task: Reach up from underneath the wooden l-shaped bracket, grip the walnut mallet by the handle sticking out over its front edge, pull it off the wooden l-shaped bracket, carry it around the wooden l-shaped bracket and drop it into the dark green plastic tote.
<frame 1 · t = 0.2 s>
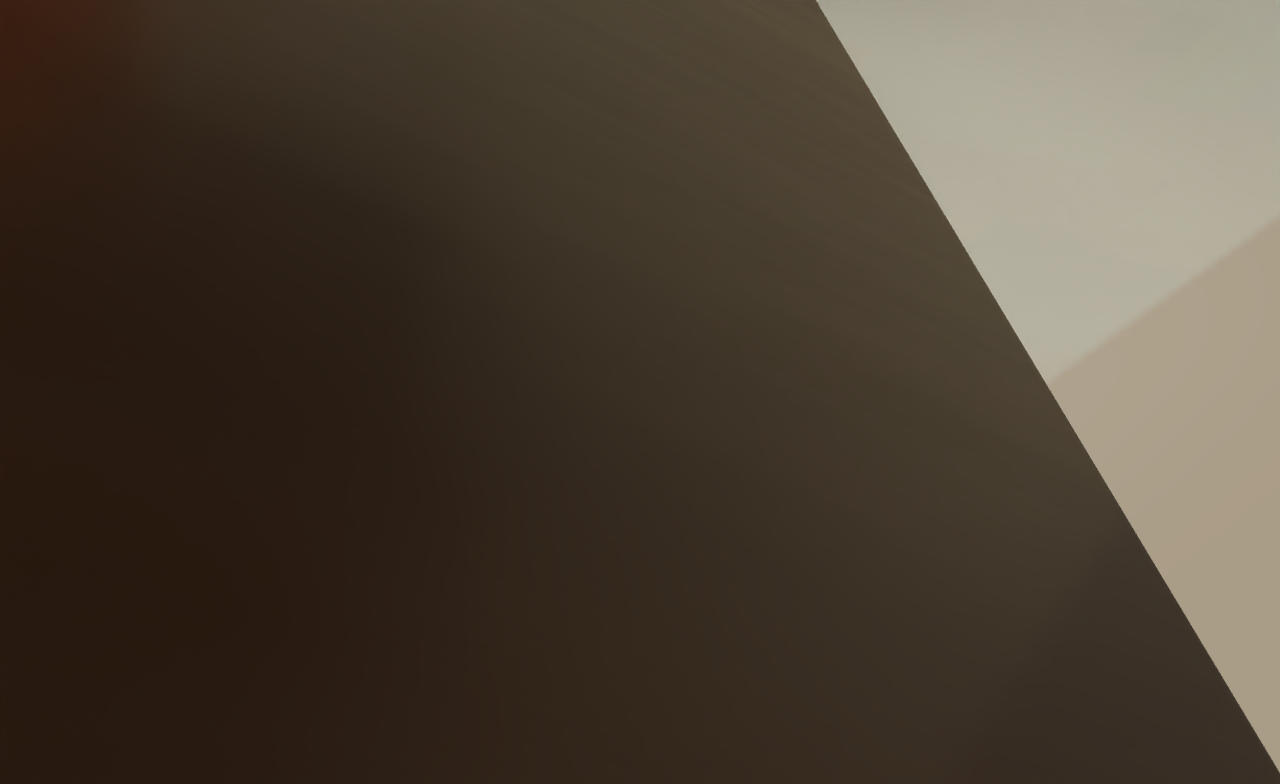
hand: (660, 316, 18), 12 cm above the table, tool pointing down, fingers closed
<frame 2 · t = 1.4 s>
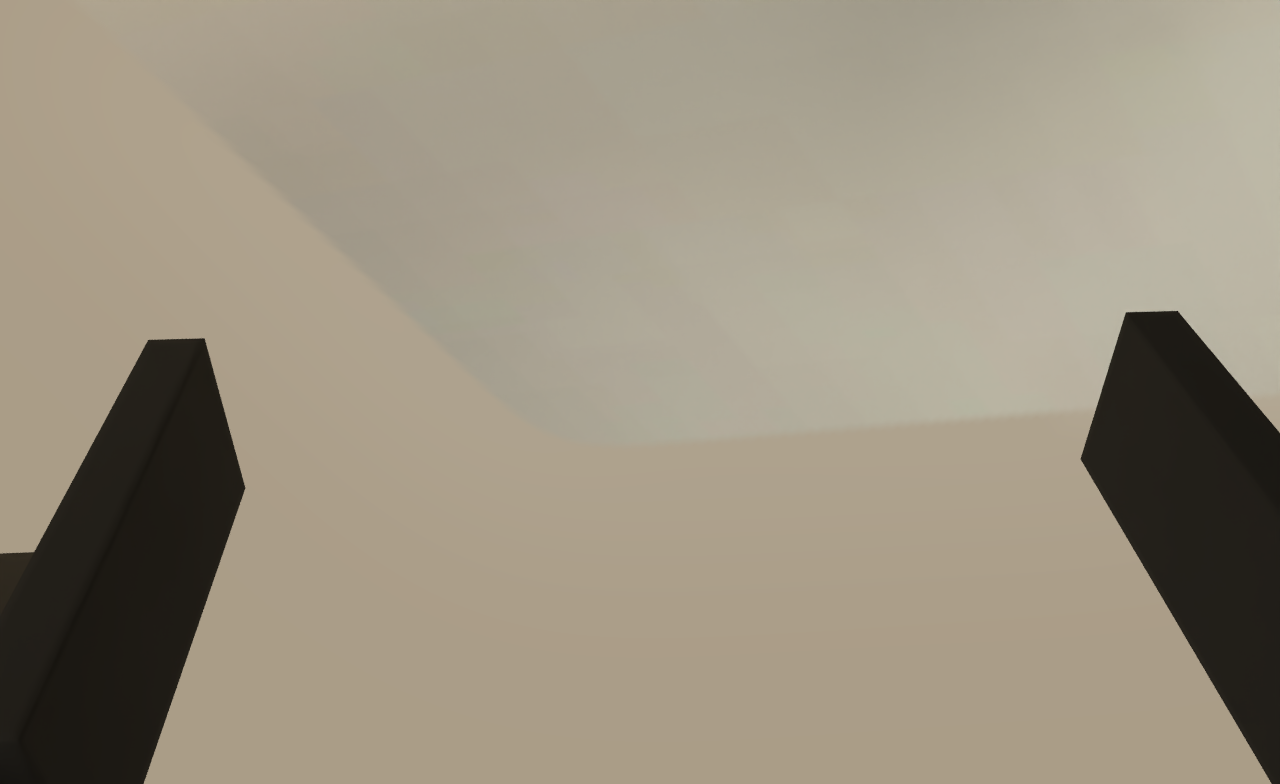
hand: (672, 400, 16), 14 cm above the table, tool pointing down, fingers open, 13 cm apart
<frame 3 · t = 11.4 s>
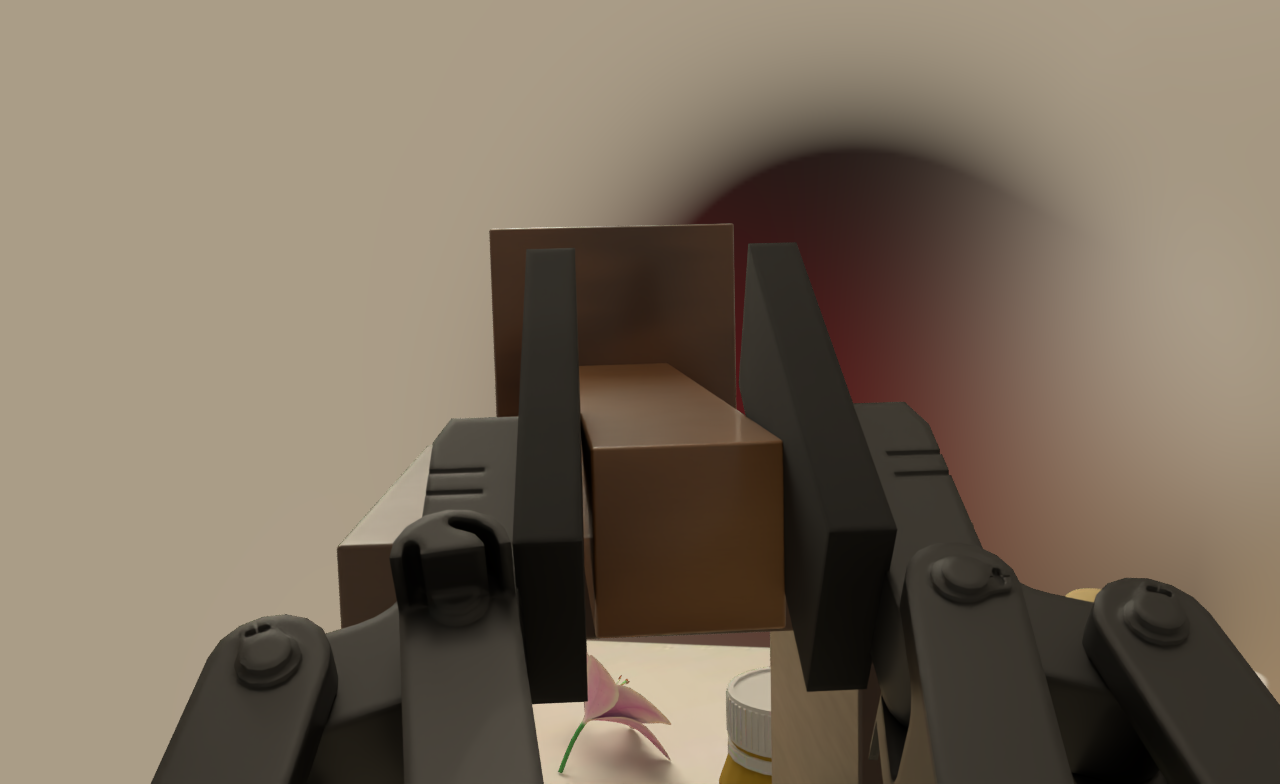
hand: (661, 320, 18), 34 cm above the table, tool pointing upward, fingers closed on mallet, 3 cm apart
mallet: (611, 449, 31), point 30 cm above the table, touching gripper, wooden l-shaped bracket
lily: (611, 760, 80), on the table
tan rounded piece: (1094, 730, 83), on the table
when the fingers open (20 cm above the table, at t = 26.6 s): mallet drops 9 cm and tips over, resting on tote.
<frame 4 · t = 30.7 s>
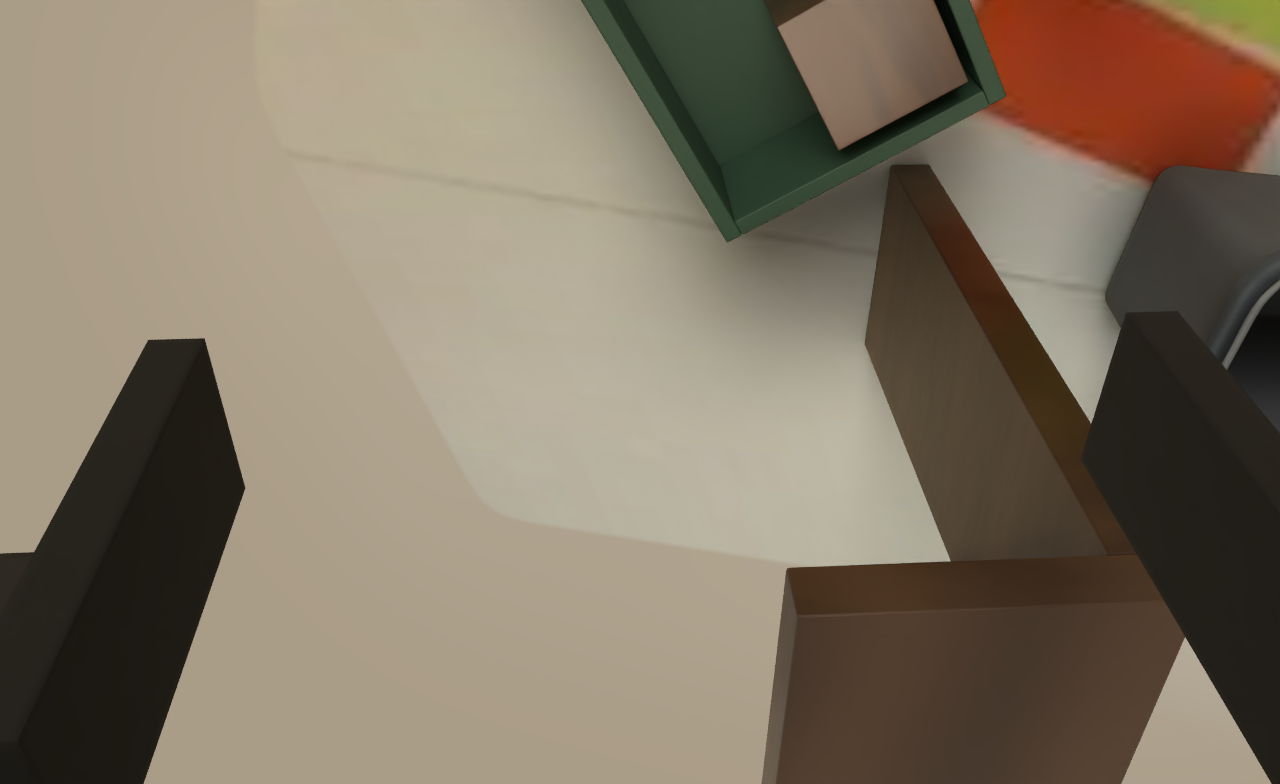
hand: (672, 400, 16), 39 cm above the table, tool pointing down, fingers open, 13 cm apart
mallet: (925, 3, 48), point 4 cm above the table, tilted 90°, touching tote
wooden l-shaped bracket: (802, 269, 60), on the table
storage bin: (1258, 260, 62), on the table
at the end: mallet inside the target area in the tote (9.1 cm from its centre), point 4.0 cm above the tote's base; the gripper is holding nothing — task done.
